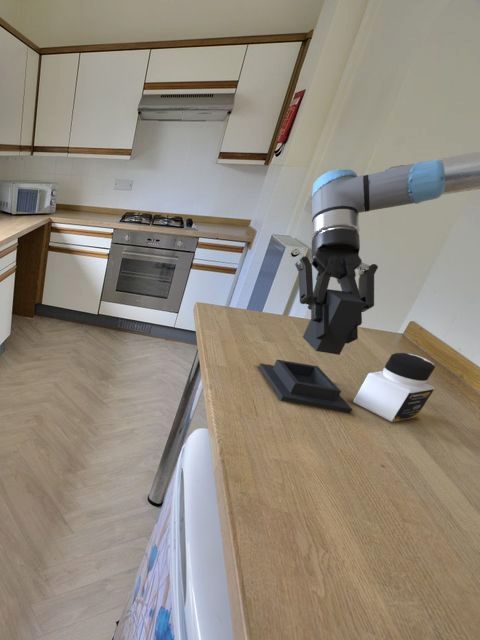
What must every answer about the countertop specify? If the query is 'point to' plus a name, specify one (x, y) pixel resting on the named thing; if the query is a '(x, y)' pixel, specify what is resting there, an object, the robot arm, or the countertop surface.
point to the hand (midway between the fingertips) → (336, 338)
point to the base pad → (304, 385)
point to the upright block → (336, 321)
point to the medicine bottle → (397, 388)
